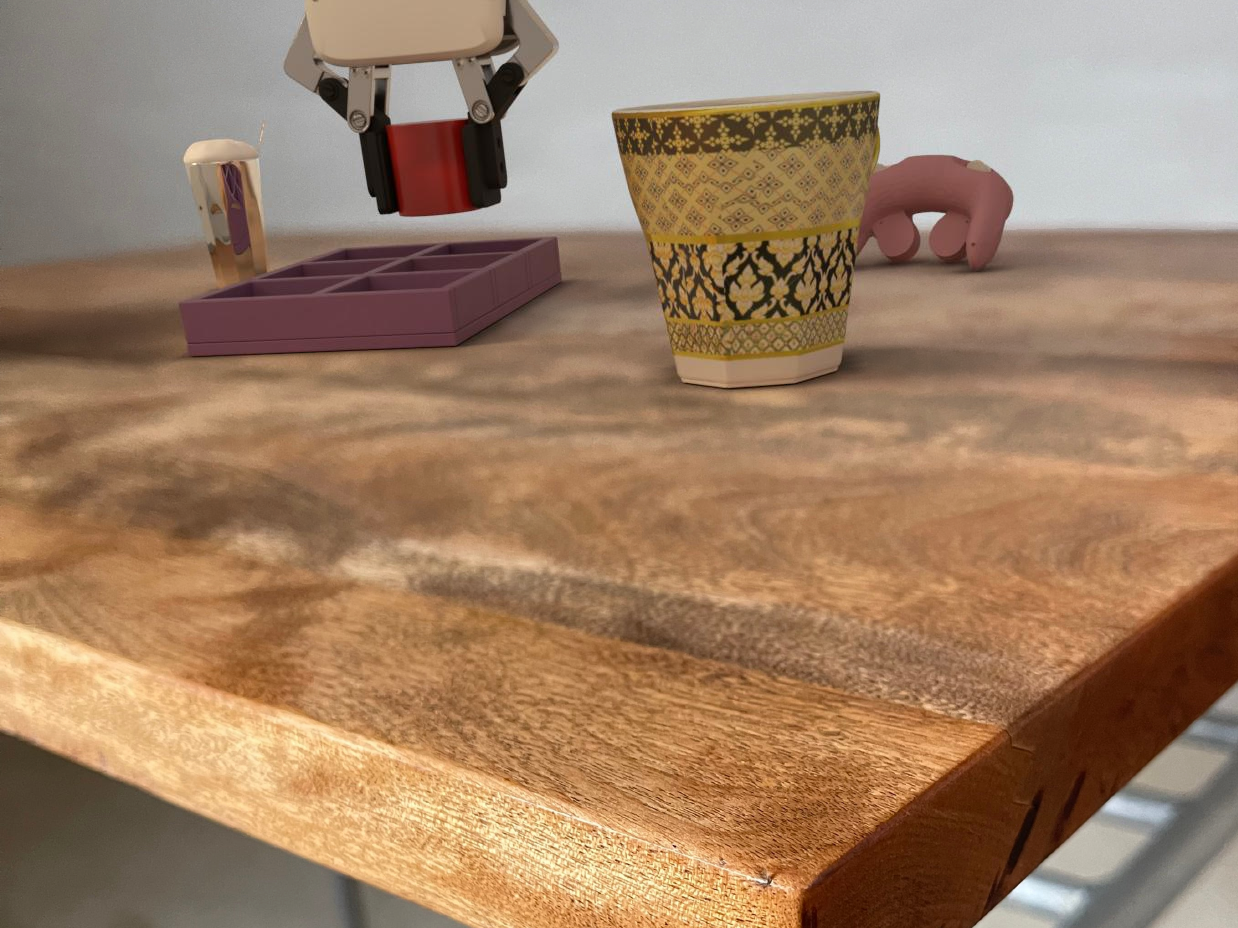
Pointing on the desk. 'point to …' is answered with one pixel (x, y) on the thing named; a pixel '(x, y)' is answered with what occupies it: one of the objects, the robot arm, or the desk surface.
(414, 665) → the desk surface
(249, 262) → the milkshake
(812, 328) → the ceramic cup
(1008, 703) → the desk surface
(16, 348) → the desk surface
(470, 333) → the purple compartment tray
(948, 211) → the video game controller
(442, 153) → the red cylinder
